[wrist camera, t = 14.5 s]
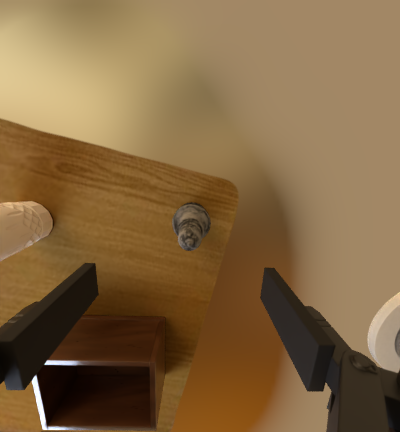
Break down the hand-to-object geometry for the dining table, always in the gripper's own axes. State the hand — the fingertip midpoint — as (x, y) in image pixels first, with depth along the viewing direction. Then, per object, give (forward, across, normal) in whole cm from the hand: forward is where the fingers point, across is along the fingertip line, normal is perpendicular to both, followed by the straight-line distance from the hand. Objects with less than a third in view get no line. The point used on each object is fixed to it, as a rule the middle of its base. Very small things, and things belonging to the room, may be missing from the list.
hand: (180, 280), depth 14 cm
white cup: (+18, -26, -1) cm, 32 cm away
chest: (+18, -14, -27) cm, 35 cm away
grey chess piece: (+18, 0, 0) cm, 18 cm away
